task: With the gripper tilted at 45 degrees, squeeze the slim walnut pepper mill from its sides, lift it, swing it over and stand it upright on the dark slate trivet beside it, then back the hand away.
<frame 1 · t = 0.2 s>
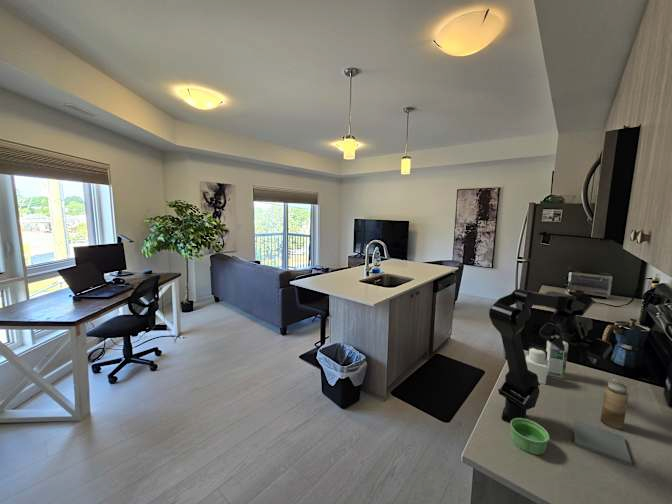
hand: (578, 356, 98), 15 cm above the worktop, tool tilted 35°, fingers open, 9 cm apart
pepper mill: (611, 423, 86), on the worktop
ramekin: (527, 444, 79), on the worktop
medicine bottle: (534, 377, 111), on the worktop
slate trivet: (599, 441, 79), on the worktop
syrup box: (553, 374, 114), on the worktop
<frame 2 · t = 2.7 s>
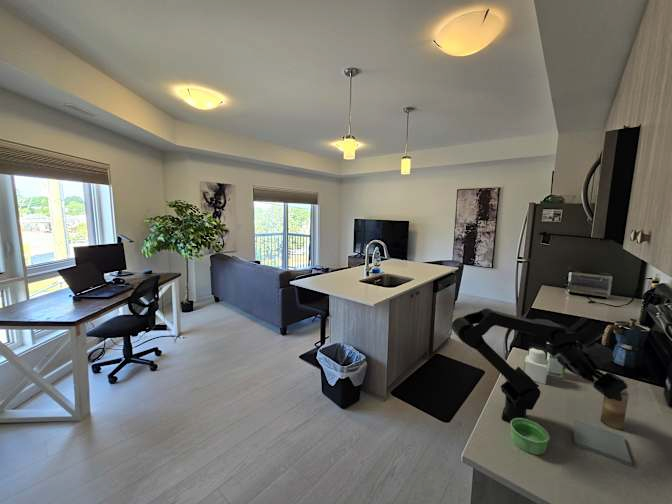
hand: (606, 390, 85), 11 cm above the worktop, tool tilted 45°, fingers open, 9 cm apart
nothing on the worktop moved.
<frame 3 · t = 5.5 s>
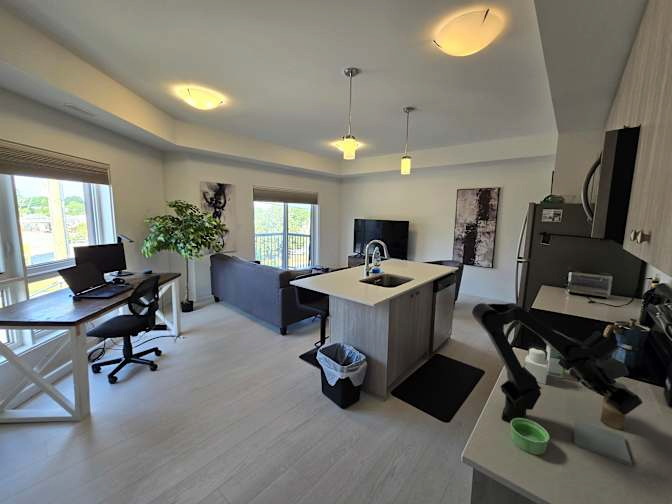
hand: (619, 404, 85), 7 cm above the worktop, tool tilted 45°, fingers closed on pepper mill, 5 cm apart
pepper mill: (611, 423, 86), on the worktop, touching gripper
everything else where it was.
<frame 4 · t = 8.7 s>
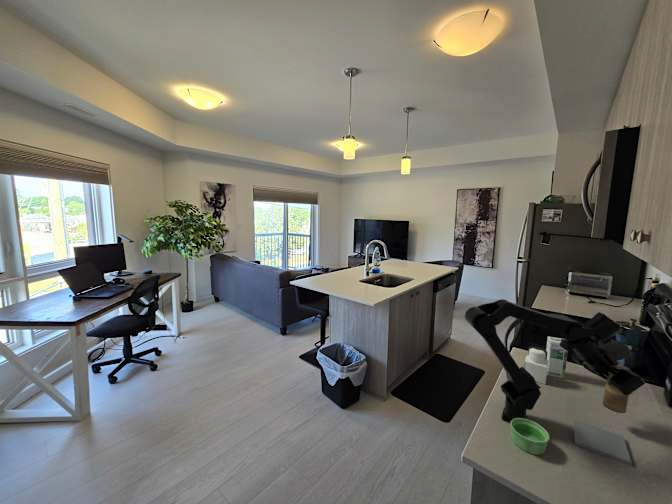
hand: (622, 387, 84), 13 cm above the worktop, tool tilted 45°, fingers closed on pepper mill, 5 cm apart
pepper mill: (614, 407, 85), point 6 cm above the worktop, touching gripper
everything else where it was.
when the fingers open (8 cm above the worktop, at t = 12.1 s): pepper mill stays where it is, resting on slate trivet.
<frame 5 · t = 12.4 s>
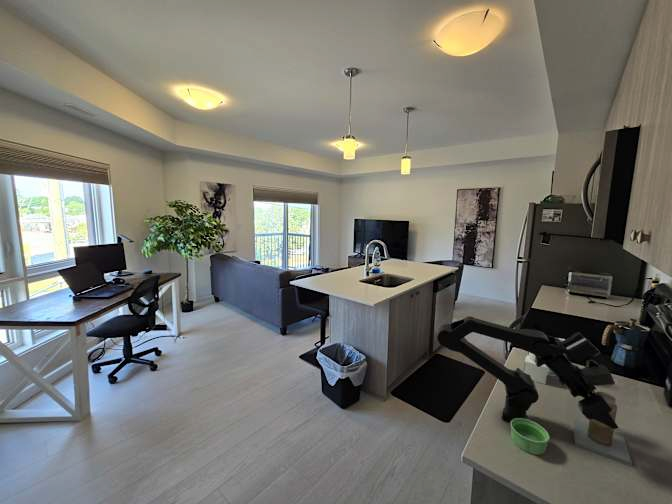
hand: (609, 417, 78), 8 cm above the worktop, tool tilted 45°, fingers open, 8 cm apart
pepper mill: (599, 438, 79), point 1 cm above the worktop, touching slate trivet
everything else where it was.
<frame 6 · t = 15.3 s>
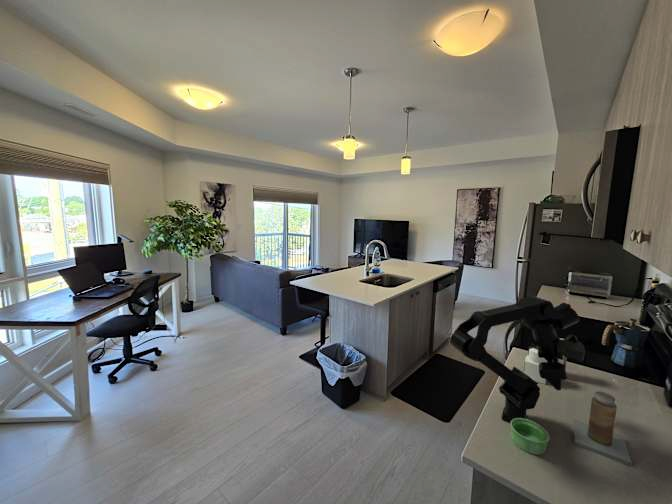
hand: (557, 379, 88), 13 cm above the worktop, tool tilted 20°, fingers open, 9 cm apart
nothing on the worktop moved.
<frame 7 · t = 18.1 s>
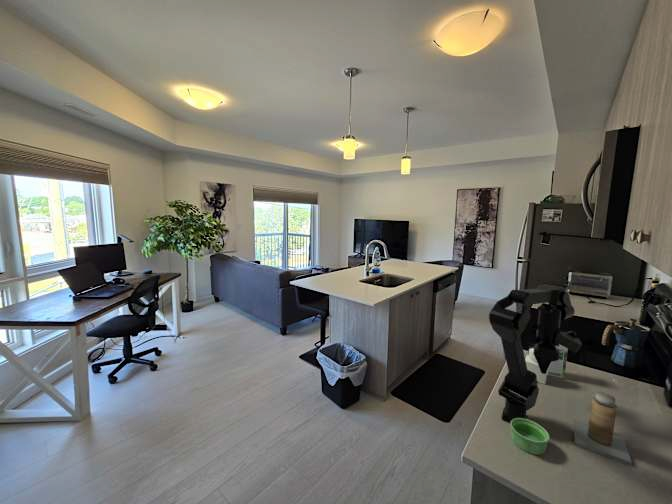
hand: (543, 367, 94), 13 cm above the worktop, tool pointing down, fingers open, 9 cm apart
nothing on the worktop moved.
at the end: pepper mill inside the target area on the slate trivet (0.1 cm from its centre), point 1.0 cm above the slate trivet's base; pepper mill tilted 1°; the gripper is holding nothing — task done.
